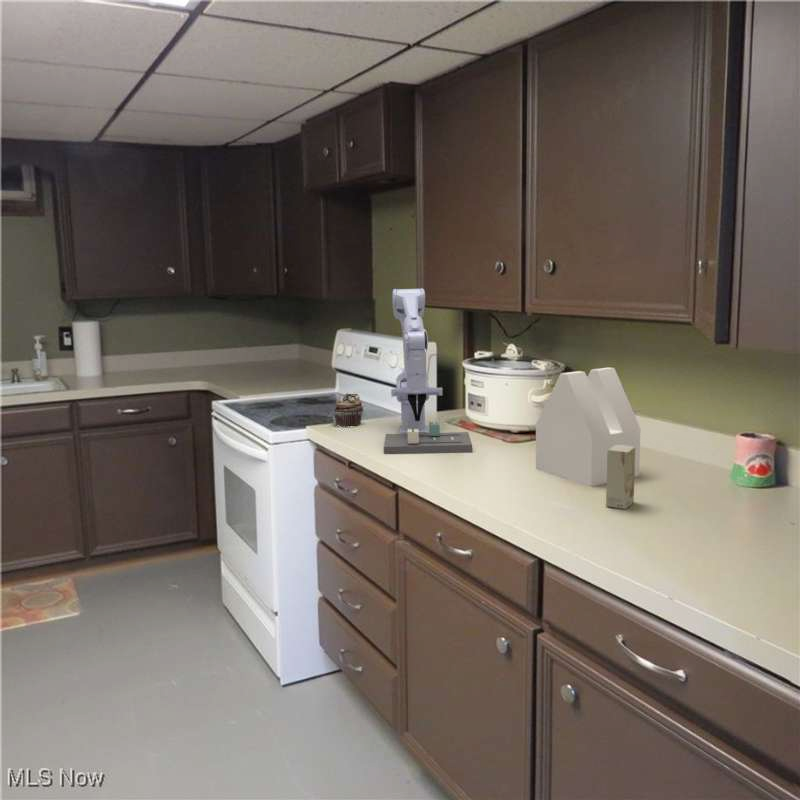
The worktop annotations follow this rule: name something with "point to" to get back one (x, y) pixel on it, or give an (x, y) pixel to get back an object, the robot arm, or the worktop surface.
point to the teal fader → (434, 429)
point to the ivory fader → (413, 436)
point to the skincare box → (620, 476)
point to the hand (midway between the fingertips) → (417, 420)
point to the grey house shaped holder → (585, 426)
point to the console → (428, 443)
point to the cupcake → (348, 410)
